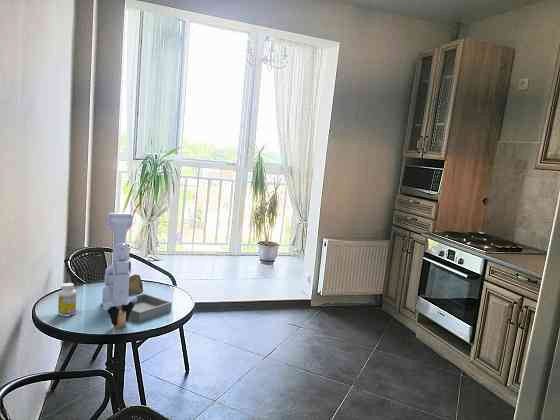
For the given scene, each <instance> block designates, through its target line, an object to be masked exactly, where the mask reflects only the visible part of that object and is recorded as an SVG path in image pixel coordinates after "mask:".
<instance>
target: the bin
mask: <svg viewBox="0 0 560 420" xmlns="http://www.w3.org/2000/svg"><path fill="white" fill-rule="evenodd" d="M134 296H135V297H137V302H132V303H133V304H134V307H133V309H132V310H131V312H130V315H129V318H128V319H131V320H133V321H135V322H139V323H141V322H143V321H146V320H149V319H152V318H155V317H157V316H158V317H159V316H160V315H163V314H166V313H167V314H168V313H169V312H172V306H173V305H172V304H173V303H172V301H169V300H165V299H162V298H160V297H156V296H153V295H152V294H151V295H150V294H147V293H140V294H138V295H134ZM116 308H117V309H119V310H122V305H121V306H117V307H116Z"/></svg>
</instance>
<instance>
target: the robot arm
mask: <svg viewBox="0 0 560 420" xmlns="http://www.w3.org/2000/svg"><path fill="white" fill-rule="evenodd" d="M133 217H134V216H133V213H132V212H111V211H110V212H108V213H107V229H109V230H111V231H112V234H113V236H112V237H113V239H112V258H111V259H112V260H111V264H110V265H109V266H108V267H107V268H105V271H104V272H105V273H104V287H103V290H102V301H101V302H100V305H102V310H105V311H106V312H107V313H108V315H109V317H110V321H111V325H112V326H113V325H117V317H118V313H119V309H117V308H116V307H117V306H121V305H122V310H125V311H126V323H127V322H128V320H129V319H130V318H129V315H130V312H131V310H132V309H133V307H134V304H133V303H132V302H137V297H135V296H136V295H132V296H130V295H129V277H130V275H131V273H132V261H131V257H130V247H129V245H128V244H127V231H128V230H131V228H132V226H133Z"/></svg>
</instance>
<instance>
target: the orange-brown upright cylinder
mask: <svg viewBox="0 0 560 420" xmlns="http://www.w3.org/2000/svg"><path fill="white" fill-rule="evenodd" d="M126 324H127V322H126V311H125V310H119V313H118V317H117V325H112V326H113V328H114V329H117V330H118V329H120V330H121V329H124V328H125V327H126Z"/></svg>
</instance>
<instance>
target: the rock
mask: <svg viewBox="0 0 560 420" xmlns="http://www.w3.org/2000/svg"><path fill="white" fill-rule="evenodd" d="M143 287H144V286H143V282H142V279H141V277H140V274H132V275H131V276H130V275H129V294H142V293H144V288H143Z"/></svg>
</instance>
